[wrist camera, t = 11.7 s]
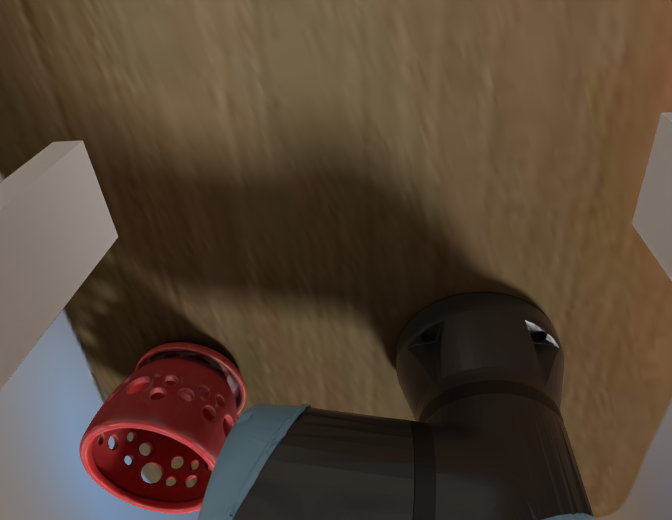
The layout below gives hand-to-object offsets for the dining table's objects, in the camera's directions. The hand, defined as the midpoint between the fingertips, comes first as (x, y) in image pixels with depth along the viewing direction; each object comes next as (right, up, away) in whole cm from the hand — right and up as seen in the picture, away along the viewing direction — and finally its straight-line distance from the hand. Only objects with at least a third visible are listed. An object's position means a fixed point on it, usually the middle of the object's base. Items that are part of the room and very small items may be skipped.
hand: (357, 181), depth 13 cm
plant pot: (-16, -14, +44) cm, 49 cm away
